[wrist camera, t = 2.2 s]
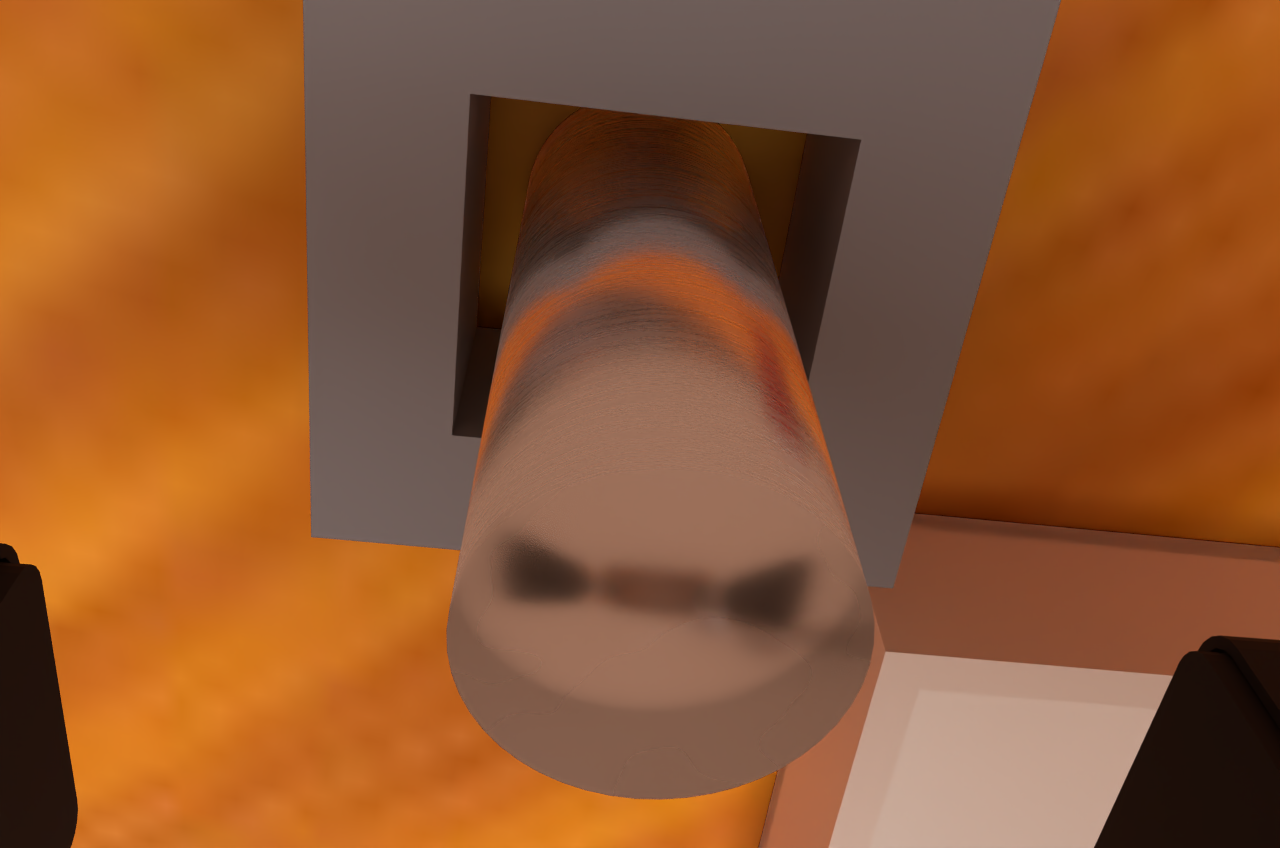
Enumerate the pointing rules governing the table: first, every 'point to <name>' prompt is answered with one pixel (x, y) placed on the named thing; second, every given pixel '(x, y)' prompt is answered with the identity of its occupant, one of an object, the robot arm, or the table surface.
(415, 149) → the block
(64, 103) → the table surface
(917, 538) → the tray
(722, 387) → the pin
